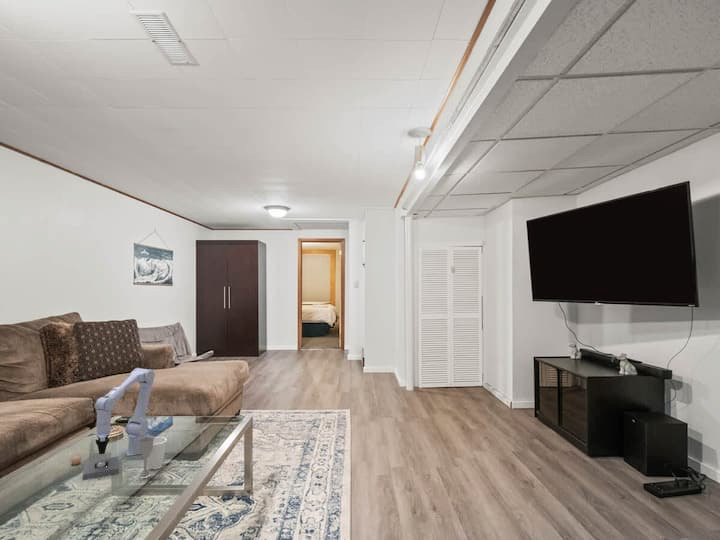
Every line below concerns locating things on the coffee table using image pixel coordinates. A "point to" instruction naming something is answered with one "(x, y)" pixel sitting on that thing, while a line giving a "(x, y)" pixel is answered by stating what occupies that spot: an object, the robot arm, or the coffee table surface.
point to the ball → (76, 460)
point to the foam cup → (157, 453)
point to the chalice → (145, 451)
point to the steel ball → (101, 465)
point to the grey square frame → (94, 472)
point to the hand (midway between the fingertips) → (102, 450)
